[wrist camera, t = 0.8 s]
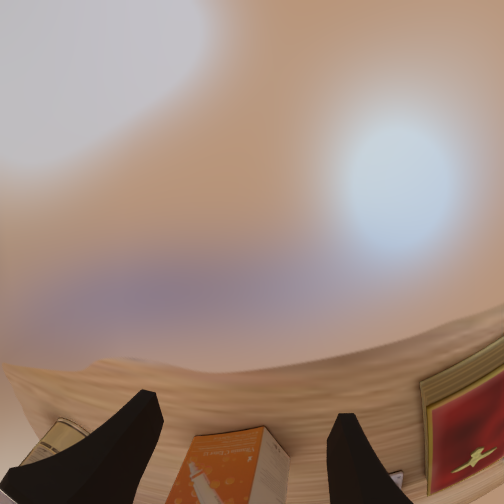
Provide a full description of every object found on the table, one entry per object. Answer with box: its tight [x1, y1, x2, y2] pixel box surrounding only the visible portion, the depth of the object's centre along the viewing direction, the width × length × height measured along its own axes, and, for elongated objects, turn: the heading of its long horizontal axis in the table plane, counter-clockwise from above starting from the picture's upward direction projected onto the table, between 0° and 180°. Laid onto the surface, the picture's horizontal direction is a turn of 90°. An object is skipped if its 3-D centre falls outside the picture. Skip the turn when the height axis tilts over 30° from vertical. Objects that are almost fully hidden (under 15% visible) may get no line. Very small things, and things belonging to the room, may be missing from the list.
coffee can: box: [19, 418, 89, 466], centre depth 23 cm, size 10×10×14 cm
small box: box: [165, 427, 290, 504], centre depth 17 cm, size 8×6×13 cm
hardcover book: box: [420, 336, 504, 497], centre depth 17 cm, size 12×21×4 cm, turn 25°
